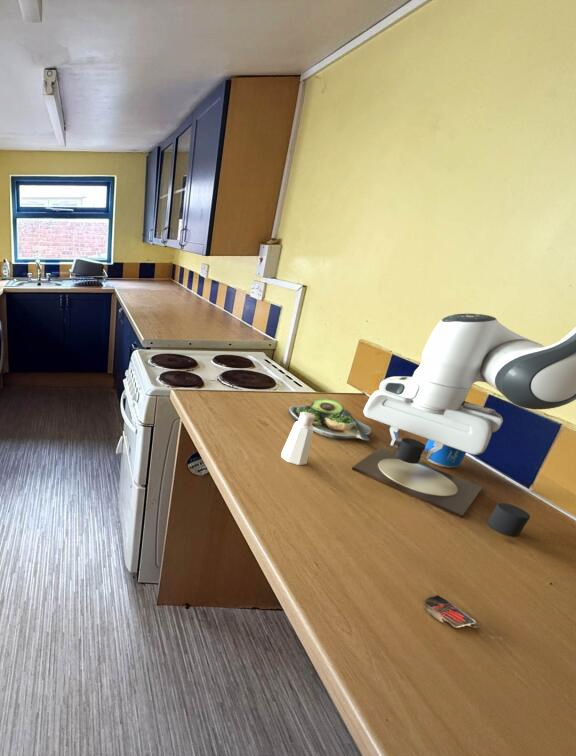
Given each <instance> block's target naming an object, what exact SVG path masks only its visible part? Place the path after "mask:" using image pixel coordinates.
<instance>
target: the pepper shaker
mask: <svg viewBox="0 0 576 756" xmlns="http://www.w3.org/2000/svg"><path fill="white" fill-rule="evenodd" d="M314 419H315V416H314V415H313V414H311V413H308V412H301V413H300V417H299V421H295V422H294V424H293V426H292V429H291V431H290V433H289V435H288V438H287V439H286V442H285V444H284V446H283V448H282V451H281V454H280V457H281V458H282V459H283V460H285V461H286V462H288V463H290V464H292V465H296V466H302V465H307V464H308V459H309V455H310V450H311V445H312V440H313V434H314V431H313V425H312V423H313V421H314Z"/></svg>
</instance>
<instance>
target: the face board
mask: <svg viewBox="0 0 576 756" xmlns="http://www.w3.org/2000/svg"><path fill="white" fill-rule="evenodd" d="M395 454H396V452H395V451H394V452H393V451H391V450H389V449H386V448H383V447H378V448H377V449H375V450H373V452H371V453H370V454H368V455H367V456H366V457H364V458H362V460H360V461H359V462H358V463H356V464H355V465H353V466H352V467H351V470H353V471H354V472H357V473H359V474H361V475H364V476H366V477H368V478H370V479H373V480H375V481H377V482H379V483H382V484H384V485H386V486H389V487H391V488H393V489H395V490H397V491H400V492H402V493H404V494H407V495H409V496H411V497H413V498H415V499H418V500H419V501H420V500H421V501H422V502H425V503H426V504H429V505H432V506H433V507H436V508H438V509H441V510H443V511H445V512H447V513H450V514H452V515H453V516H456V517H458V518H463V517H464V515H465V514H466V512H467V511H468V510H469V508H470V507H471V505H472V504H473V502H474V501H475V499H476V498H477V496H478V495H479V494H480V492H481V491H482V490H483V486H481V485H479V484H476V483H474V482H470V481H468V480H465V479H463V478H460V477H457V476H455V475H452V474H450V473H448V472H446V471H442V470H440V469H437V468H434V467H432V466H430V465H427V464H425V463H421V462H420V461H419V462H418V463H417V464H412V463H407V462H404V461H402V460H400V459H398V458H397V457H396V456H395Z"/></svg>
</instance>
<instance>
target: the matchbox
mask: <svg viewBox="0 0 576 756" xmlns="http://www.w3.org/2000/svg"><path fill="white" fill-rule="evenodd" d="M423 603H424V604H426V606H425V607H424V608H425V609H424V610H425V611H427V613H428V614H429V615H430V616H432V617H433V618H435V619H436V620H437V621H439V622H441V623H444V621H445V622H446V623H448V624H449V625H451V626H452V627H454V628H458V629H459V628H461V627H465V626H468V627H471V628H473V629H477V628H478V627H479V626H480V625H479V624H476V623H477V621H476V620H475V619H474V618H472V617H471V616H469V615H468V613H466V612H464V611H463V610H461V609H459V608H458V607H457V606H456V605H455V604H454V603H453V602H451V601H449V600H447V599H445V598H443V597H442V596H440V595H439V594H435V595H432V596H428V597H427V598H426V599H425V600H424V601H423Z"/></svg>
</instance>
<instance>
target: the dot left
mask: <svg viewBox="0 0 576 756" xmlns="http://www.w3.org/2000/svg"><path fill="white" fill-rule="evenodd" d="M401 439H402V440H401V443H400V445H399V447H398V448H397V450H396V452H395V453H396V454H395V456H396V457H397V458H398V459H400V460H402V461H404V462H407V463H412V464H417V463H418V462H419V463H420V460H421V458H422V457H420V455H421V454H422V451H423V450H424V449H425V447H426V444H425V443H423V442H421V441H420V440H418V439H414V438H408V437H403V438H401Z"/></svg>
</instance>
